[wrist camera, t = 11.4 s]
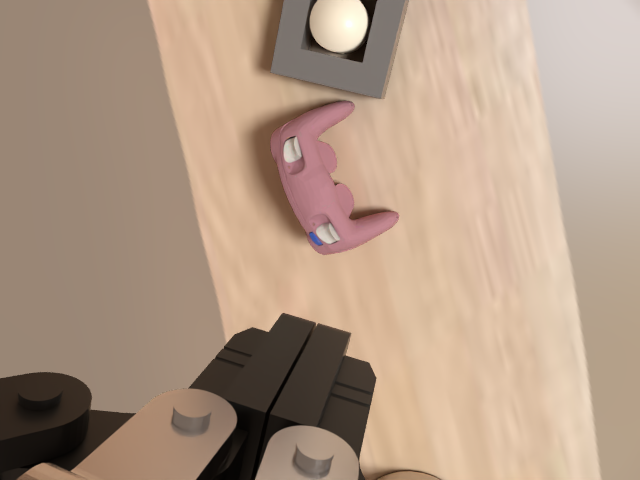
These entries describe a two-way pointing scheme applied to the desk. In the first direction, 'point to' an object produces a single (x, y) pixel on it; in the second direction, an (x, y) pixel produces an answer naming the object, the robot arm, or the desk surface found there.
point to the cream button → (340, 25)
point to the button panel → (333, 70)
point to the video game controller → (321, 183)
